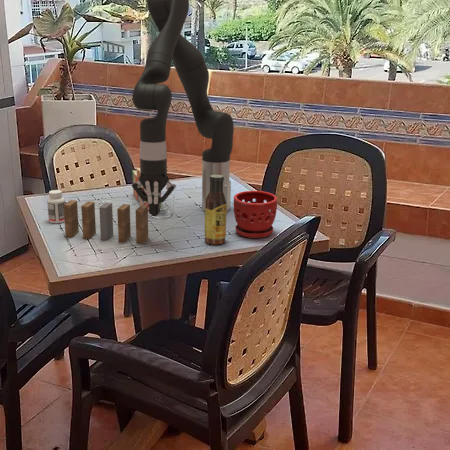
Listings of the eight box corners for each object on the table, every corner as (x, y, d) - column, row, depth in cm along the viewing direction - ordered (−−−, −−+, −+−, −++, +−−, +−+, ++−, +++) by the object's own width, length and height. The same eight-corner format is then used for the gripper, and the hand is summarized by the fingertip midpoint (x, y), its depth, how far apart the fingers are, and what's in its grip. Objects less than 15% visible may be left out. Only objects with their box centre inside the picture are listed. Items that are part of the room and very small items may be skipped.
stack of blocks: (132, 195, 239) (131, 162, 235) (149, 194, 241) (149, 161, 237) (143, 211, 219) (142, 176, 216) (162, 210, 221) (161, 175, 217)
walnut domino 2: (96, 233, 197) (94, 201, 194) (89, 239, 192) (87, 206, 189) (89, 233, 197) (88, 201, 194) (83, 238, 193) (81, 206, 190)
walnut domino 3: (130, 236, 195) (129, 204, 192) (124, 242, 190) (123, 209, 187) (124, 236, 195) (123, 204, 192) (118, 241, 191) (117, 208, 187)
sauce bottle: (218, 247, 187) (219, 180, 181) (200, 243, 190) (200, 176, 184) (230, 240, 193) (231, 175, 186) (212, 236, 196) (213, 172, 189)
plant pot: (224, 232, 200) (224, 194, 196) (257, 224, 208) (258, 188, 204) (251, 244, 190) (252, 204, 186) (284, 235, 198) (286, 197, 194)
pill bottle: (65, 218, 211) (63, 188, 208) (67, 222, 206) (65, 193, 203) (47, 219, 209) (45, 190, 206) (49, 224, 205) (47, 194, 202)
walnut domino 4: (148, 238, 194) (147, 205, 191) (143, 243, 189) (142, 210, 186) (141, 237, 194) (141, 205, 191) (136, 243, 190) (135, 210, 186)
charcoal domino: (100, 240, 192) (99, 207, 189) (107, 234, 196) (105, 202, 193) (107, 240, 191) (105, 207, 188) (113, 235, 196) (112, 203, 193)
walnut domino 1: (78, 232, 198) (77, 200, 195) (72, 237, 193) (69, 205, 190) (72, 231, 198) (70, 200, 195) (65, 237, 194) (63, 204, 191)
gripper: (179, 155, 185) (180, 213, 191) (135, 152, 188) (136, 210, 193) (172, 160, 178) (173, 221, 184) (126, 157, 181) (128, 217, 186)
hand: (154, 215), depth 188 cm, fingers closed
